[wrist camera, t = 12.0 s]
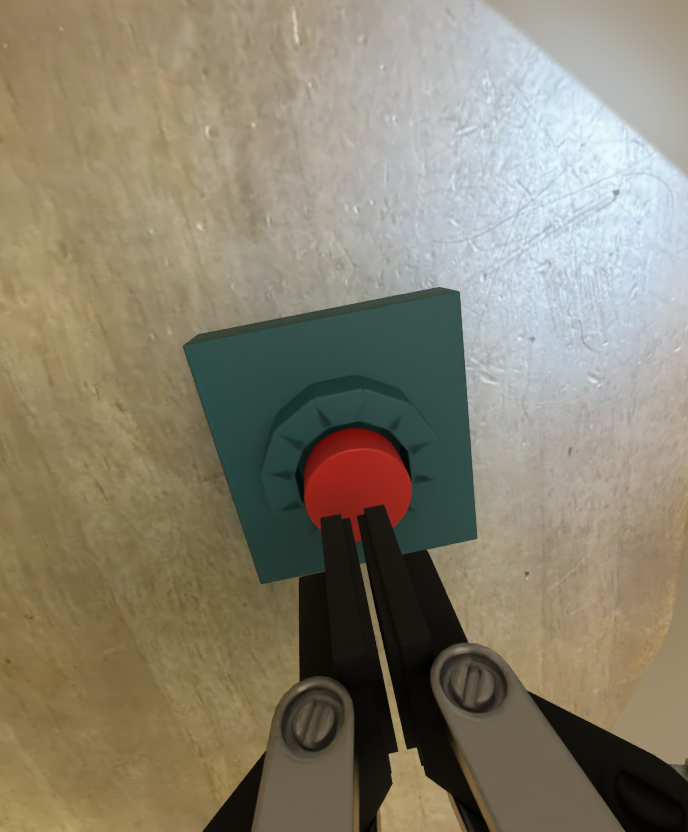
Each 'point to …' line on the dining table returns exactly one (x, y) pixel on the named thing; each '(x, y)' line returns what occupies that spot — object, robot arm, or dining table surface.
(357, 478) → the button
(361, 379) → the button block
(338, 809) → the robot arm
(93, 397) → the dining table surface
